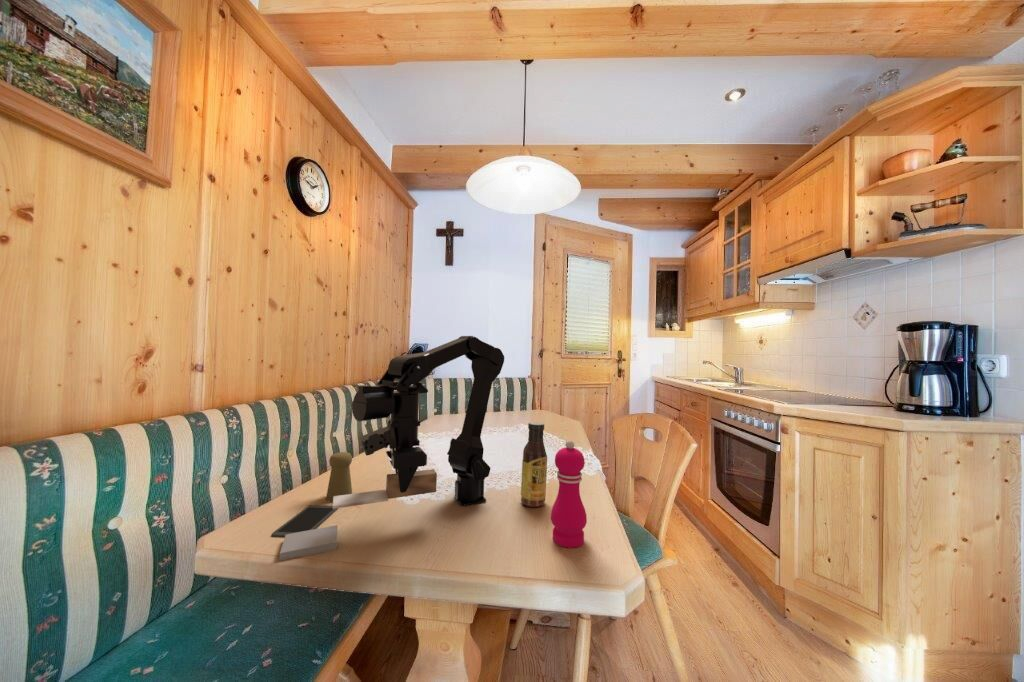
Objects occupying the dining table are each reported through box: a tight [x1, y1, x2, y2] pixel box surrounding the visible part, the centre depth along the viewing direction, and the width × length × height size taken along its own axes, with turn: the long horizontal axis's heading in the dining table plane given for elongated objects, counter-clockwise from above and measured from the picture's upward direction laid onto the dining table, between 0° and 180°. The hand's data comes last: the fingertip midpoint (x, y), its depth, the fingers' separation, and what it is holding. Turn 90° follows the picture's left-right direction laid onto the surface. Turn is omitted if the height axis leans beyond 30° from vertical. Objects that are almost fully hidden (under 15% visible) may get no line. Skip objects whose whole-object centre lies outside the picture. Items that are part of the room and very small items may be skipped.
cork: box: [325, 451, 353, 503], centre depth 89 cm, size 6×6×11 cm
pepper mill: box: [550, 439, 588, 549], centre depth 72 cm, size 7×7×20 cm
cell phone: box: [271, 504, 339, 538], centre depth 77 cm, size 7×14×1 cm, turn 0°
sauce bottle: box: [520, 421, 548, 508], centre depth 89 cm, size 7×6×20 cm
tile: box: [279, 524, 338, 561], centre depth 67 cm, size 2×7×9 cm
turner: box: [332, 468, 438, 509], centre depth 73 cm, size 20×5×4 cm, turn 116°
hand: (402, 489), depth 75 cm, fingers closed on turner, 3 cm apart
